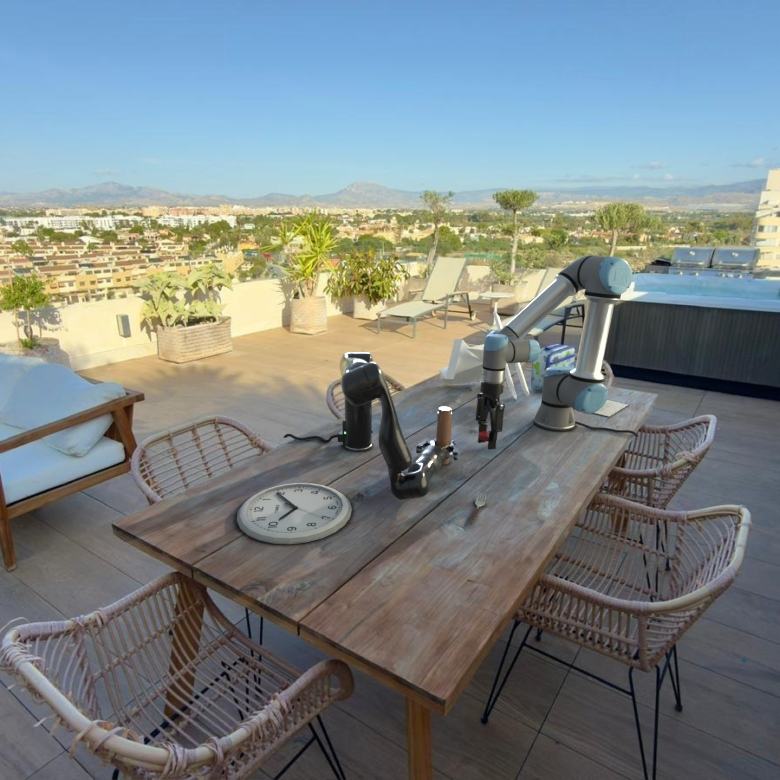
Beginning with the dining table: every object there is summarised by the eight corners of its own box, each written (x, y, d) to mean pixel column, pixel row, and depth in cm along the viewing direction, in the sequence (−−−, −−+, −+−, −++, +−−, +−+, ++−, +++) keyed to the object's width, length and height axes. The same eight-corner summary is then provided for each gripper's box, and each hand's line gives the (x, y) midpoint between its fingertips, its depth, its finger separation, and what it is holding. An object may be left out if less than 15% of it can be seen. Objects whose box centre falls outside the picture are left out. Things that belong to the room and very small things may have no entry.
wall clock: (352, 536, 126) (224, 540, 123) (352, 542, 126) (225, 546, 123) (351, 478, 154) (247, 481, 151) (351, 483, 155) (247, 486, 152)
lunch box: (547, 396, 238) (552, 351, 232) (526, 391, 246) (531, 347, 239) (574, 385, 256) (579, 343, 250) (554, 380, 263) (559, 340, 257)
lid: (479, 434, 183) (480, 430, 183) (496, 436, 182) (496, 432, 181) (477, 440, 178) (478, 435, 177) (494, 442, 176) (494, 438, 176)
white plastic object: (461, 429, 252) (437, 405, 227) (444, 352, 274) (420, 323, 250) (535, 404, 240) (518, 377, 215) (510, 326, 262) (492, 293, 237)
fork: (465, 526, 134) (465, 519, 133) (477, 497, 148) (477, 491, 147) (475, 528, 133) (476, 521, 132) (486, 499, 147) (487, 492, 147)
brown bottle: (445, 466, 168) (448, 412, 162) (432, 462, 170) (435, 409, 164) (451, 460, 171) (454, 407, 166) (438, 457, 174) (441, 405, 168)
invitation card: (608, 416, 214) (573, 407, 224) (608, 416, 214) (573, 408, 224) (628, 404, 229) (594, 396, 238) (628, 405, 229) (594, 397, 238)
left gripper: (453, 454, 152) (467, 434, 168) (407, 446, 158) (425, 427, 173) (451, 477, 155) (466, 455, 170) (406, 468, 160) (424, 448, 175)
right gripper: (468, 374, 181) (463, 437, 187) (498, 389, 164) (492, 457, 171) (487, 373, 183) (481, 434, 190) (518, 387, 167) (511, 454, 174)
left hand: (445, 441), depth 171 cm, fingers closed on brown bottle, 4 cm apart
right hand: (486, 445), depth 181 cm, fingers closed on lid, 6 cm apart
